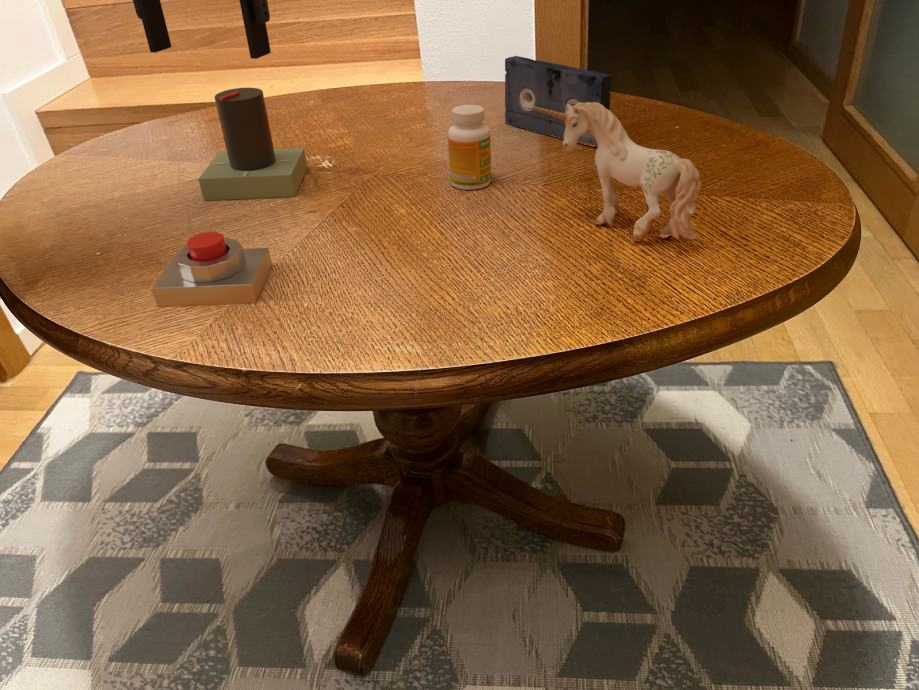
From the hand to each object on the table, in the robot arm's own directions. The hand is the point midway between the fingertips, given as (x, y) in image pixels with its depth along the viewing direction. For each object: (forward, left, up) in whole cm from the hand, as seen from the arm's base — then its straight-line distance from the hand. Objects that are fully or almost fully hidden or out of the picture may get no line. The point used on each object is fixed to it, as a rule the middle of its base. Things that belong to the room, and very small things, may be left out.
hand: (209, 53), depth 81 cm
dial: (0, +9, -16) cm, 18 cm away
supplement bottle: (+29, +6, -19) cm, 35 cm away
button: (+2, -19, -15) cm, 24 cm away
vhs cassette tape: (+42, +24, -19) cm, 52 cm away
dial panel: (0, +9, -19) cm, 21 cm away
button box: (+2, -19, -19) cm, 27 cm away
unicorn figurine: (+44, -11, -19) cm, 49 cm away
